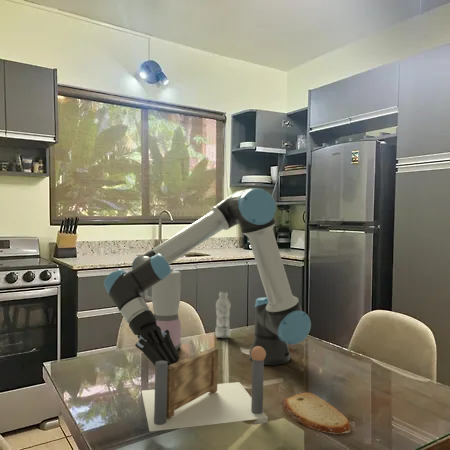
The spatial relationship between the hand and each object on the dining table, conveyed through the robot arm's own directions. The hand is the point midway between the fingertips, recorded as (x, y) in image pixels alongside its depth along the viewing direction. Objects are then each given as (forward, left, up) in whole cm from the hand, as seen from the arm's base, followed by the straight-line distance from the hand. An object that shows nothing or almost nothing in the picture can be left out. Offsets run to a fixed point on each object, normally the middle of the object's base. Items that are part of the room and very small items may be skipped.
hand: (184, 386), depth 114 cm
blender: (-1, -53, -6) cm, 54 cm away
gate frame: (-4, +1, -6) cm, 7 cm away
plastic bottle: (-29, -63, -6) cm, 70 cm away
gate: (-2, +1, -4) cm, 5 cm away
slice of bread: (-34, +12, -7) cm, 36 cm away
